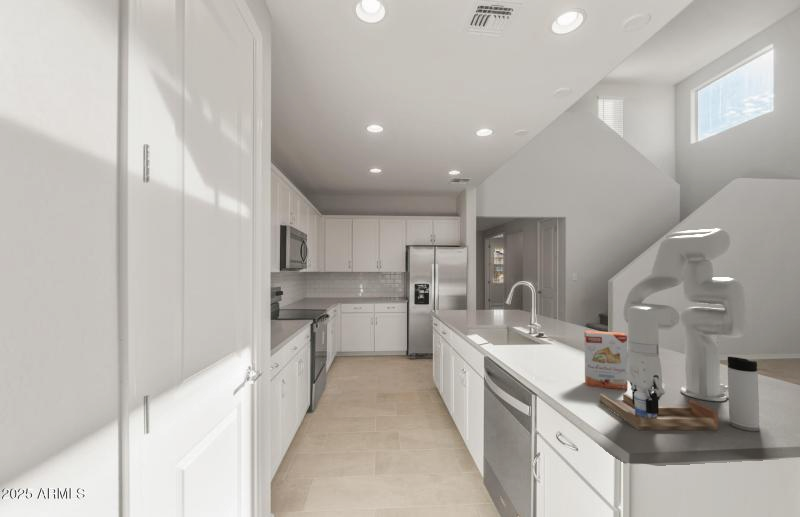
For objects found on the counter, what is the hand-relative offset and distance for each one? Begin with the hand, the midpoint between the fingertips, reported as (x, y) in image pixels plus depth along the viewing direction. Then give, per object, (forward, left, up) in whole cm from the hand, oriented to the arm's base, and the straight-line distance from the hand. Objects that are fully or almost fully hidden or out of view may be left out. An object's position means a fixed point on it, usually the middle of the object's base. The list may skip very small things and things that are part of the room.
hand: (645, 408), depth 105 cm
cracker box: (-6, -32, -4) cm, 33 cm away
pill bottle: (0, 0, -3) cm, 3 cm away
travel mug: (-26, +3, -4) cm, 27 cm away
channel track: (-5, -5, -4) cm, 9 cm away
